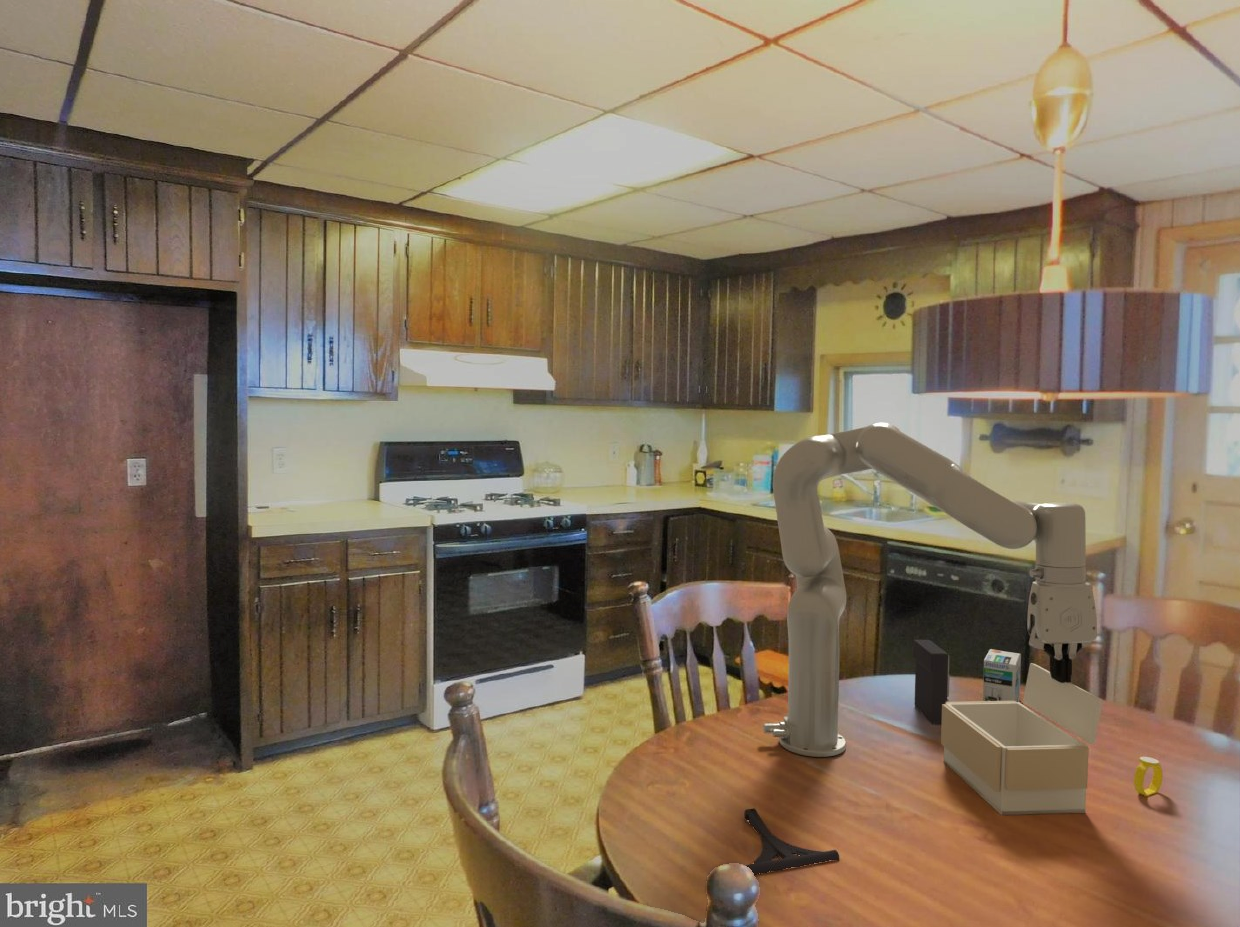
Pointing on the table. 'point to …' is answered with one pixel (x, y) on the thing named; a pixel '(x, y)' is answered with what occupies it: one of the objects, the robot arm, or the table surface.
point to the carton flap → (1063, 703)
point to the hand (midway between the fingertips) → (1060, 680)
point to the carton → (1015, 757)
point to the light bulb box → (1001, 676)
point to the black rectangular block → (931, 679)
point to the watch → (1140, 773)
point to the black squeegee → (781, 850)
